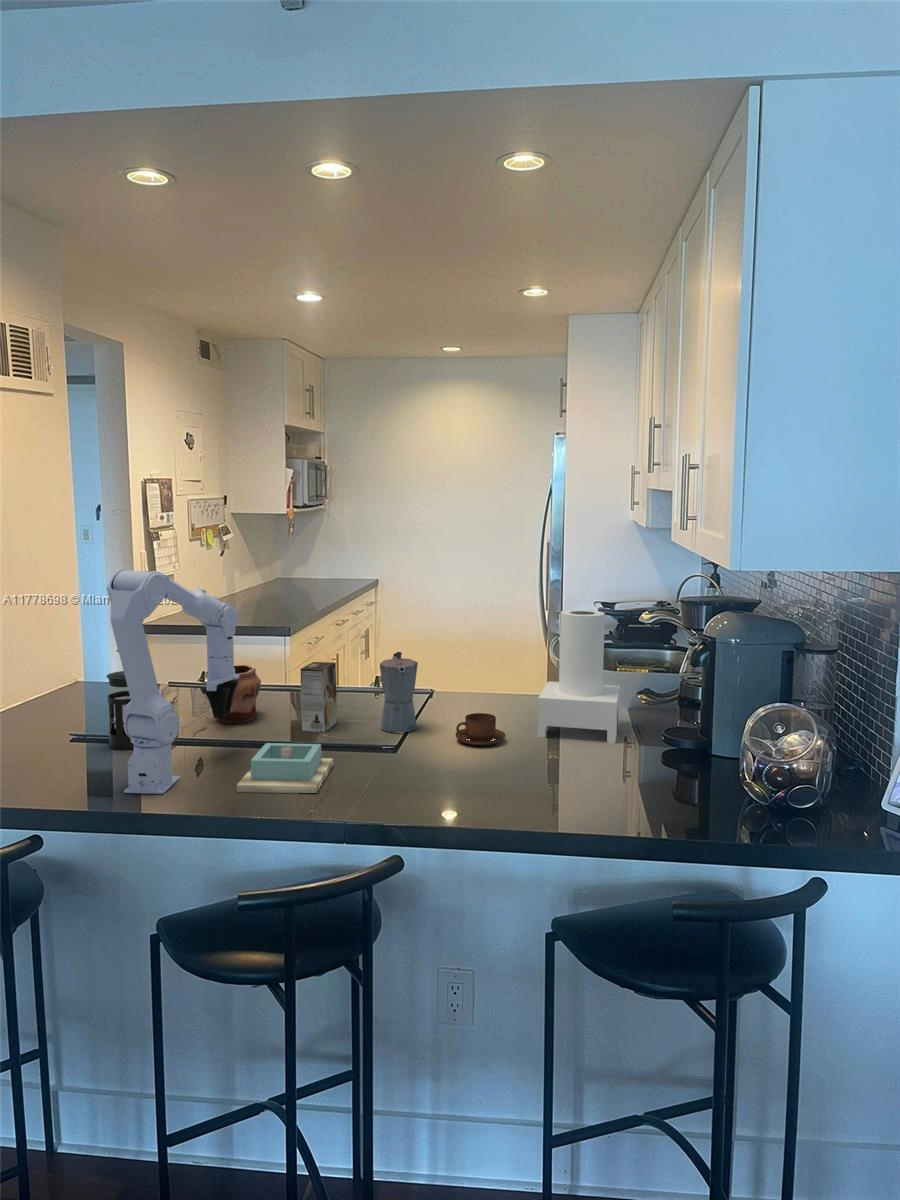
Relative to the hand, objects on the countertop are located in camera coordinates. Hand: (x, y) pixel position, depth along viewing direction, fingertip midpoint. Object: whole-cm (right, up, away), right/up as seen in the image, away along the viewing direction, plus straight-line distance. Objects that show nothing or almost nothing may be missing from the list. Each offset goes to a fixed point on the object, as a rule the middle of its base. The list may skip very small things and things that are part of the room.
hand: (222, 715), depth 193 cm
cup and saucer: (+59, -9, +14) cm, 61 cm away
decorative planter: (-5, -6, +30) cm, 31 cm away
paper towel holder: (+84, -7, +24) cm, 88 cm away
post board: (+17, -11, -14) cm, 25 cm away
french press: (-24, -8, +9) cm, 27 cm away
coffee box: (+18, -7, +25) cm, 32 cm away
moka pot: (+38, -7, +24) cm, 46 cm away
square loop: (+17, -10, -13) cm, 24 cm away
